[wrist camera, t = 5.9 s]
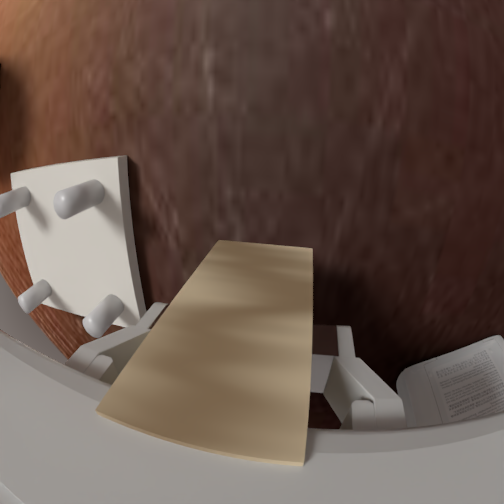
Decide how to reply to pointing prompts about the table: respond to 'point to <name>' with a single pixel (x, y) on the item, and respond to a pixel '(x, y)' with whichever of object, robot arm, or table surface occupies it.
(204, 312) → the block
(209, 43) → the table surface
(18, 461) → the robot arm
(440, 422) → the photo printer
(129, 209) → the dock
